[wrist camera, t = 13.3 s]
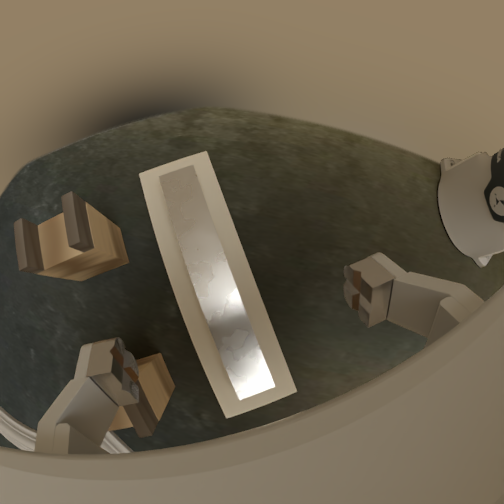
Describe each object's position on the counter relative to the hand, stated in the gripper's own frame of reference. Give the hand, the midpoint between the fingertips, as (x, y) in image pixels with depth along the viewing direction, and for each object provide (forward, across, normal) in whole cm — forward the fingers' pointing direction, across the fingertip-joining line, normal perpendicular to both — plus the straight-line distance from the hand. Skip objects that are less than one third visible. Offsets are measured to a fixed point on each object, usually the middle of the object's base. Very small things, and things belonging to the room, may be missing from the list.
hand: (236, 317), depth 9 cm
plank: (+17, +1, +10) cm, 19 cm away
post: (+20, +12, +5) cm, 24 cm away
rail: (+16, +1, +9) cm, 18 cm away
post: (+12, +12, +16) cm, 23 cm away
